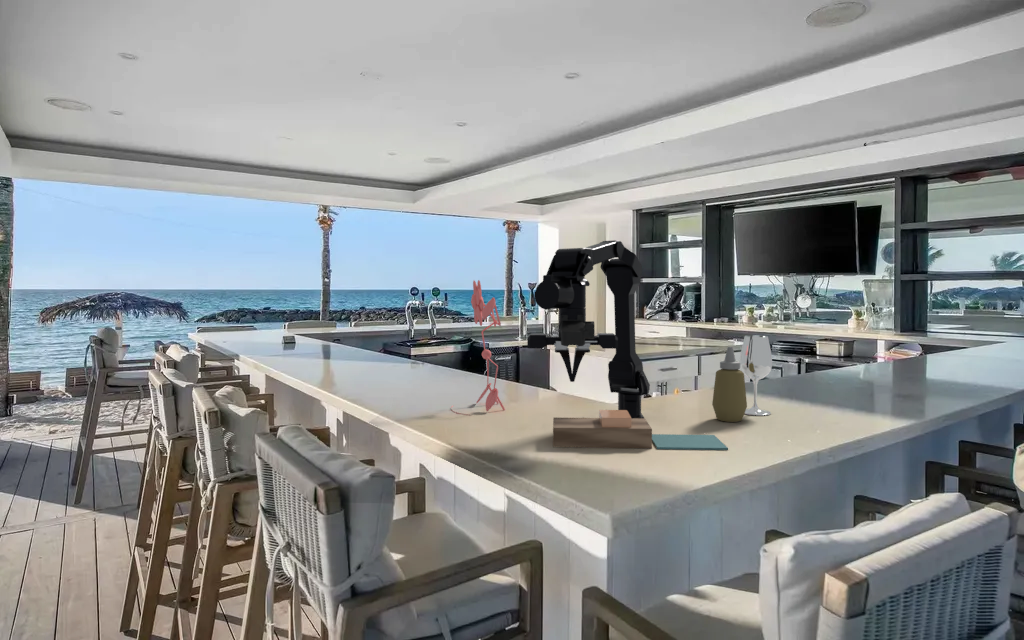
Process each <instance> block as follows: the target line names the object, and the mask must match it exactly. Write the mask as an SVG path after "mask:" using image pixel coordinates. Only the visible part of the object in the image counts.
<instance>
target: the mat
mask: <svg viewBox="0 0 1024 640" xmlns="http://www.w3.org/2000/svg"><path fill="white" fill-rule="evenodd" d="M652 444H653V445H654V446H655V448H656V449H657V450H689V451H691V450H695V451H696V450H699V451H700V450H701V451H702V450H703V451H705V450H707V451H709V450H710V451H729V447H728V446H727V445H726V444H724V443H723V442H722V441H721V439H720V438H718V437H717V436H716V435H715V434H676V433H675V434H670V433H669V434H668V433H667V434H664V433H662V434H661V433H659V434H656V433H655V434H654V433H652Z"/></svg>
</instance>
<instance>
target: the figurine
mask: <svg viewBox="0 0 1024 640" xmlns="http://www.w3.org/2000/svg"><path fill="white" fill-rule="evenodd" d="M472 287H473V288H472V289H473V294H472V295H471V300H470V303H471V306H472V309H473V319H474V323H475V325H478V323H479V325H480V326H481V327H482V325H483V321H485V320H486V319H487V318H489V316H490V318H491V319H492V321H493V322H492V323H490V324H489V325H488V326H486V327H484V328H483V329H482V330H481V332H480V333H481V339H482V345H483V350H482V352H481V356H482V358H483V360H486V365H487V366H486V368H487V369H486V372H487V373H486V375H487V376H486V377H487V380H486V382H487V384H486V387H485V389H484V390H483V392H482V393H481V394H480V396H479V397H478V399H477V401H476V404H479V402H480V401H481V400H482V399H483V398H484V396H485V395H486V394H487V392H488V390H489V393H488V395H487V397H486V399H485V411H486V412H489V411H490V409H492V407H494V406H495V404H497V405H500V407H501V408H502V410H503V411H505V410H506V408H505V407H504V405H503V403H502V401H501V398H500V397H499V390H498V388H497V387H496V383H497V376H498V370H499V365H498V364H497V363H495V362H494V361H493V360H492V359H491V358H492V351H491V350H489V349H486V343H485V342H486V341H485V335H484V332H485V331H486V330H489V328H491V327H492V326H494V327H495V328H496V327H497V326H499V327H501V326H502V325H501V320H500V315H499V312H498V308H497V305H496V299H495V297H492V298H491V299H489V300H488V302H487V303H485V301H484V297H483V296H482V295H483V294H482V292H483V291H482V285H481V281H480V279H478V280H477V282H476V280H473V281H472ZM494 311H495V312H494ZM495 315H496V318H495ZM494 327H493V328H494ZM489 361H490V362H491V363H492V364H494V365H495V366H496V369H495V377H494V382H493V383H494V384H493V388H491V385H492V383H491V382H490V383H489V363H490V362H489ZM452 407H454V405H452V406H451V408H452ZM452 412H453V413H455V414H458V415H462V412H457V411H453V410H452ZM463 415H464V416H469V414H466V413H463Z"/></svg>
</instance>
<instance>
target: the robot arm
mask: <svg viewBox="0 0 1024 640" xmlns="http://www.w3.org/2000/svg"><path fill="white" fill-rule="evenodd" d="M598 264H600V270H601V272H603V274H604V276H605V277H606V284H607V287H608V288H609V291H611V293H612V294H613V299H614V301H613V302H614V307H613V308H614V333H610V332H608V333H599V332H597V336H595V332H596V331H595V321H594V320H593V321H588V320H586V319H587V316H586V315H587V311H586V309H587V307H586V303H587V302H586V300H587V298H586V297H587V295H586V291H587V289H586V288H587V287H590V285H591V284H590V281H589V280H587V279H586V276H587V275H588V274H590V272H591V271H593V270H594V266H596V265H598ZM642 274H643V265H642V263H641V262H640V260H639V258H638V256H637V255H636V254H635V253H634V251H633V252H632V250H630V249H628V248H627V247H626V246H624V244H623V242H622V241H621V240H620V241H619V240H615V239H614V240H602V241H601V242H598V243H596V244H593V245H590V246H585V247H573V248H558V249H557V250H556V251H555V252H554V256H553V257H552V259H551V261H550V263H549V267H548V270H547V272H546V274H545V275H544V274H543V275H542V281H541V282H539V284H538V285H537V286H536V288H535V291H534V295H533V296H534V301H535V302H536V305H537V306H538V307H539V308H541V309H543V310H558V327H557V329H558V330H557V331H558V332H557V333H558V334H557V335H558V336H548V335H547V333H545V332H544V333H543V332H542V333H541V332H540V333H539V332H538V333H534V332H533V333H530V334H529V335H528V336H527V349H543V348H544V347H545V346H553V347H554V352H555V353H559V354H560V356H561V359H562V360H563V363H564V366H565V369H566V372H567V375H568V379H569V381H570V383H571V382H572V383H575V380H576V376H577V374H578V371H579V367H580V364H581V362H582V360H583V357H584V356H585V354H586V353H587V354H588V353H591V349H590V347H591V346H600V348H602V349H605V350H606V349H615V354H614V356H613V358H612V359H611V360H610V361H608V364H607V365H608V366H607V367H608V375H607V378H608V384H609V390H610V391H609V392H610V393H617V396H618V397H617V410H627V411H628V413H629V414H630V416H631V418H645V416H644V415H643V414H642V396H648V395H649V392H650V391H651V389H650V386H651V385H650V383H649V382H650V381H649V380H648V377H647V376H646V373H645V371H644V367H643V366H644V364H643V361H642V360H641V358H640V357H639V355H638V354H637V352H636V317H635V293H636V291H637V290H638V288H639V286H640V284H641V280H642V279H641V278H642ZM569 346H576V347H574V355H573V363H572V362H571V357H570V349H569ZM572 365H573V366H572Z"/></svg>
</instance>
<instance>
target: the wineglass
mask: <svg viewBox="0 0 1024 640" xmlns="http://www.w3.org/2000/svg"><path fill="white" fill-rule="evenodd" d="M772 355H773V354H772V350H771V345H770V340H769V336H768V335H761V334H759V335H758V334H757V335H755V334H750V335H749V334H748V335H747V334H746V335H744V338H743V342H742V346H741V349H740V357H739V362H740V371H742V372H743V373H744V376H746V377H747V378H748V379H750V380H752V382H753V405H752V406H751V407H750V408H746V411H745V413H744V415H748V416H755V415H756V416H761V417H763V416H764V415H765V416H769V415H771V414H772V412H771V411H769V410H765V409H761V408H760V407H758V401H757V400H758V399H757V397H758V383H759V381H760V380H763V379H764V378H765V377H767V376H768V375H769V374H770V373H771V371H772V368H773V357H772Z"/></svg>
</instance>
